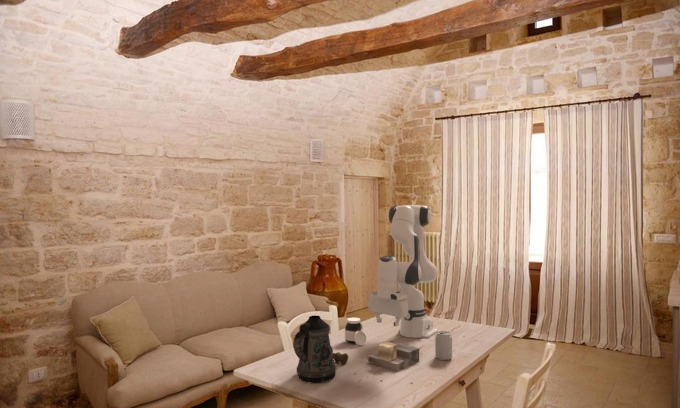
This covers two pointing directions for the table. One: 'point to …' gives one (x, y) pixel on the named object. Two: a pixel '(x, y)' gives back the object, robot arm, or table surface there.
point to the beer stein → (314, 351)
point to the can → (443, 345)
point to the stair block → (404, 357)
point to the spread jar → (354, 332)
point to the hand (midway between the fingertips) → (387, 324)
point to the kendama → (340, 357)
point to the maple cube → (387, 351)
